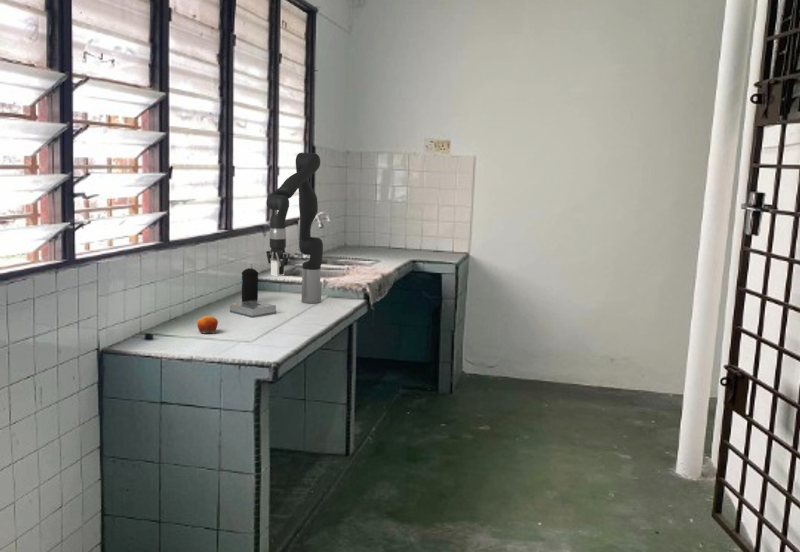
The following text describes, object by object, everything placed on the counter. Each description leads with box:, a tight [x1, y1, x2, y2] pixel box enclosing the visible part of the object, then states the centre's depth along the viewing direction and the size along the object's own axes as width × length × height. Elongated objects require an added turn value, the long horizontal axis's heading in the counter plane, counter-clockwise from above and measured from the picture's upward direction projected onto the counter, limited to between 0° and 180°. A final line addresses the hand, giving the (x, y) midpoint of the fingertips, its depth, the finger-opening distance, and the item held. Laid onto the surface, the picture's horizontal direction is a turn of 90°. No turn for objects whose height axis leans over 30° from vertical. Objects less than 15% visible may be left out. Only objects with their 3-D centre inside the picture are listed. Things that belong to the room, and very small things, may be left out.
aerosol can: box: [241, 263, 259, 302], centre depth 354 cm, size 8×8×20 cm
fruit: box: [196, 315, 219, 335], centre depth 293 cm, size 8×8×8 cm
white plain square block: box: [270, 259, 285, 277], centre depth 340 cm, size 4×4×7 cm
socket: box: [229, 300, 277, 319], centre depth 335 cm, size 14×16×5 cm
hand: (277, 273), depth 340 cm, fingers closed on white plain square block, 4 cm apart
